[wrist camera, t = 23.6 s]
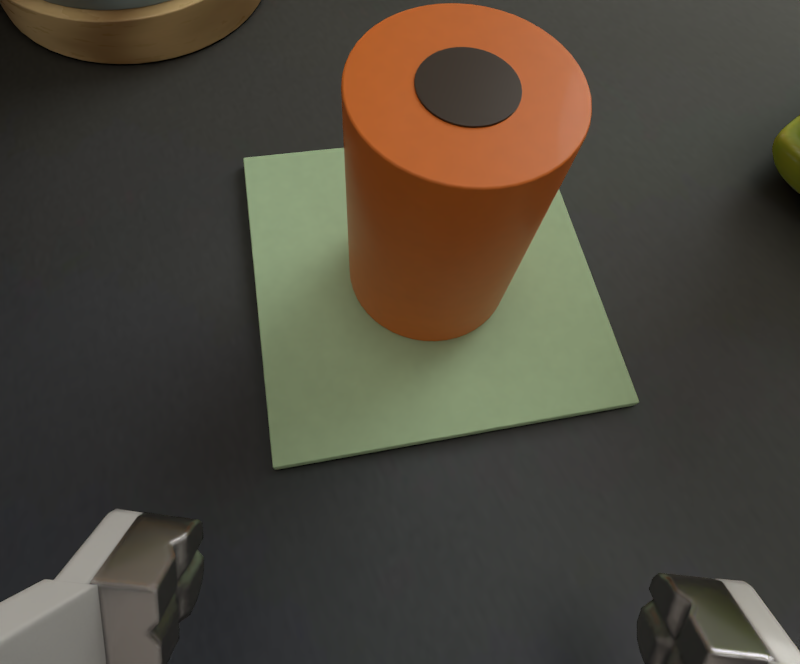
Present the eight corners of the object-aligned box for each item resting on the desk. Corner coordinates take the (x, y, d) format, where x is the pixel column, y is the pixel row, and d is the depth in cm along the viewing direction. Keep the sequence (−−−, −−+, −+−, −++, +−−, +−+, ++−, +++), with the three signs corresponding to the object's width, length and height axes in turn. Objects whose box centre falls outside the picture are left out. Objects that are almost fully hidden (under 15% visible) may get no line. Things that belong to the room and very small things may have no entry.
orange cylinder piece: (363, 353, 18) (363, 202, 10) (338, 215, 20) (325, 8, 12) (523, 328, 18) (630, 170, 11) (483, 198, 21) (550, -7, 13)
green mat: (274, 470, 16) (272, 468, 16) (244, 164, 21) (242, 157, 21) (634, 405, 18) (640, 402, 18) (533, 134, 23) (536, 127, 22)
